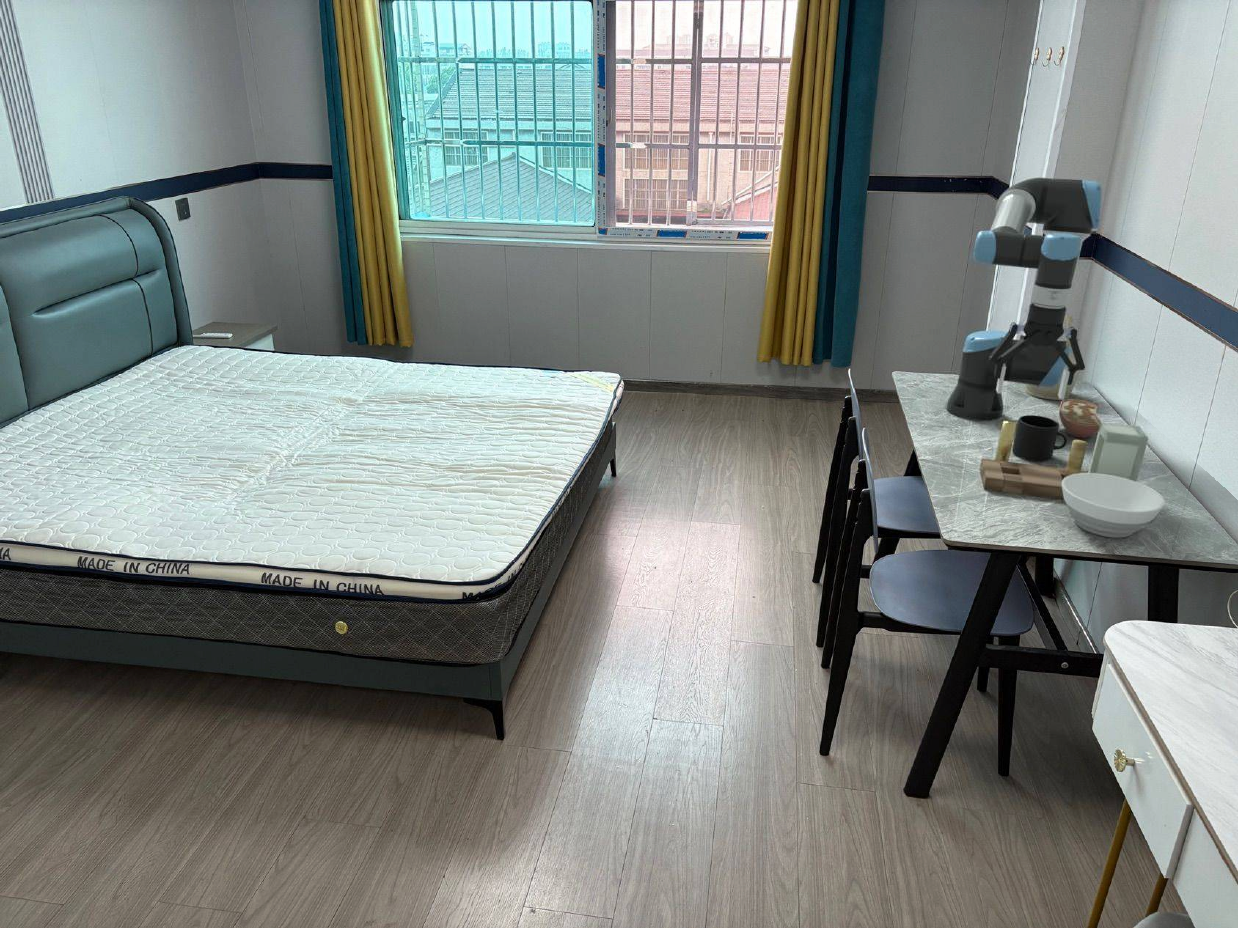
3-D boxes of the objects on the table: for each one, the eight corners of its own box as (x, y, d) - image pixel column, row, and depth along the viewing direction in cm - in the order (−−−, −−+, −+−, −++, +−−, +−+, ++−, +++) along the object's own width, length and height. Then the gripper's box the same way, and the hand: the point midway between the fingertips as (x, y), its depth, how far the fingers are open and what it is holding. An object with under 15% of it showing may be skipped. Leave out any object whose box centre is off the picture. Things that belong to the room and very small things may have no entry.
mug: (1063, 466, 222) (1071, 432, 218) (1011, 457, 226) (1018, 424, 223) (1062, 453, 230) (1070, 420, 226) (1012, 445, 234) (1019, 412, 231)
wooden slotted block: (979, 469, 218) (988, 423, 214) (1114, 486, 211) (1127, 439, 206) (983, 489, 208) (993, 441, 203) (1126, 507, 200) (1139, 458, 196)
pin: (993, 464, 221) (1002, 419, 217) (1006, 466, 221) (1015, 420, 216) (994, 469, 219) (1003, 423, 214) (1007, 471, 218) (1017, 424, 213)
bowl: (1082, 548, 182) (1092, 511, 179) (1036, 506, 200) (1044, 472, 197) (1175, 548, 183) (1186, 511, 180) (1121, 506, 201) (1130, 472, 198)
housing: (1088, 473, 210) (1100, 422, 205) (1125, 477, 208) (1139, 426, 203) (1094, 486, 202) (1108, 434, 197) (1133, 491, 201) (1148, 438, 196)
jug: (1058, 386, 283) (1076, 307, 273) (1084, 402, 269) (1104, 320, 259) (1011, 385, 282) (1027, 307, 272) (1034, 402, 268) (1052, 319, 258)
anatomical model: (1098, 445, 236) (1103, 427, 234) (1057, 439, 240) (1061, 421, 238) (1092, 418, 256) (1096, 401, 254) (1054, 413, 259) (1057, 396, 257)
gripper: (991, 304, 200) (974, 394, 209) (1113, 313, 195) (1090, 405, 203) (987, 296, 207) (971, 384, 215) (1105, 305, 202) (1083, 395, 210)
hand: (1029, 394), depth 209 cm, fingers open, 13 cm apart
